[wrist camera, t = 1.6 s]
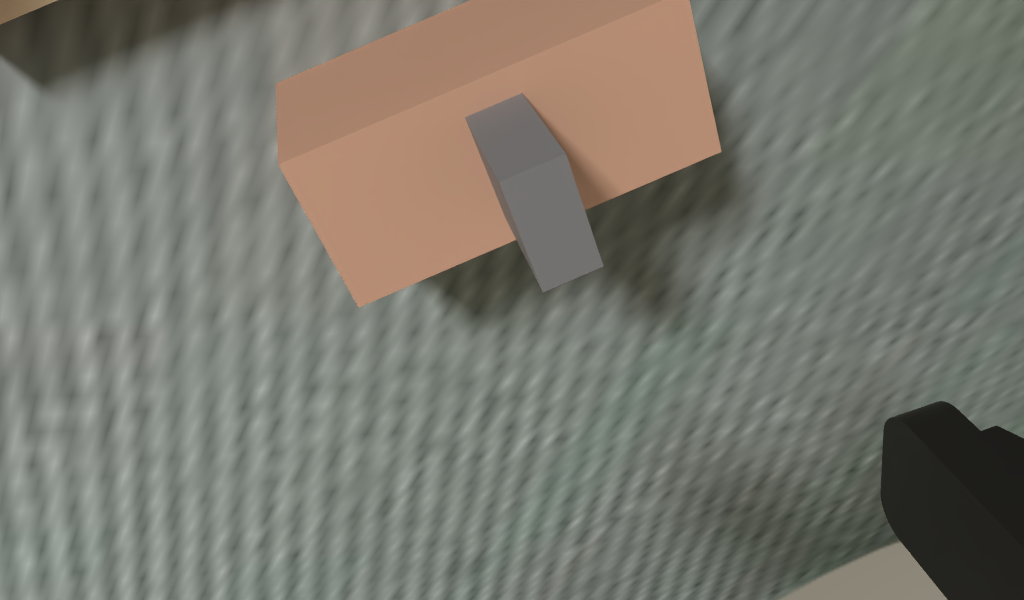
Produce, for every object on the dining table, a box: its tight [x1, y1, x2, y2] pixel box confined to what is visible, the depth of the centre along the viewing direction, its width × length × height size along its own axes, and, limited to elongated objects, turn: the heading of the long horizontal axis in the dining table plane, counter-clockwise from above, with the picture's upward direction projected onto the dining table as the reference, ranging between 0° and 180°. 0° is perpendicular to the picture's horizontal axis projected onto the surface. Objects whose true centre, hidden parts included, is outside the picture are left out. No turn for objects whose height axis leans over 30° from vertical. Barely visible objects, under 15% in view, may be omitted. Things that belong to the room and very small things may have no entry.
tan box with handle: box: [276, 0, 722, 307], centre depth 30 cm, size 14×6×13 cm, turn 109°
